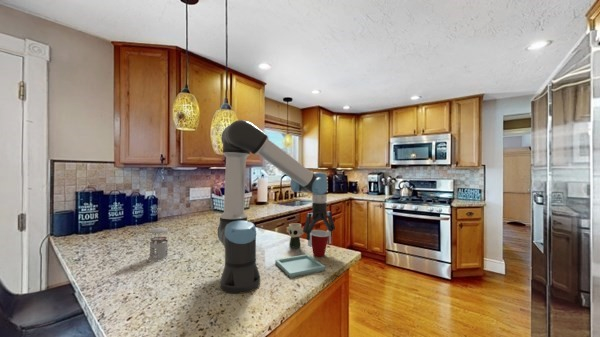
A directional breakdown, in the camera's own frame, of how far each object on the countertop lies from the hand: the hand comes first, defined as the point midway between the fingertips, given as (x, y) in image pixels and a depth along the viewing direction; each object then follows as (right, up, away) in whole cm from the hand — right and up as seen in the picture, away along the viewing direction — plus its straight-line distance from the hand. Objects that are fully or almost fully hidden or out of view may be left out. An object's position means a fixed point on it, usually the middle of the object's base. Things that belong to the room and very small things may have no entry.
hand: (319, 244), depth 126 cm
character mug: (-13, -6, +13) cm, 19 cm away
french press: (-82, -6, -4) cm, 82 cm away
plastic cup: (0, -6, 0) cm, 6 cm away
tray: (-10, -5, -15) cm, 19 cm away
